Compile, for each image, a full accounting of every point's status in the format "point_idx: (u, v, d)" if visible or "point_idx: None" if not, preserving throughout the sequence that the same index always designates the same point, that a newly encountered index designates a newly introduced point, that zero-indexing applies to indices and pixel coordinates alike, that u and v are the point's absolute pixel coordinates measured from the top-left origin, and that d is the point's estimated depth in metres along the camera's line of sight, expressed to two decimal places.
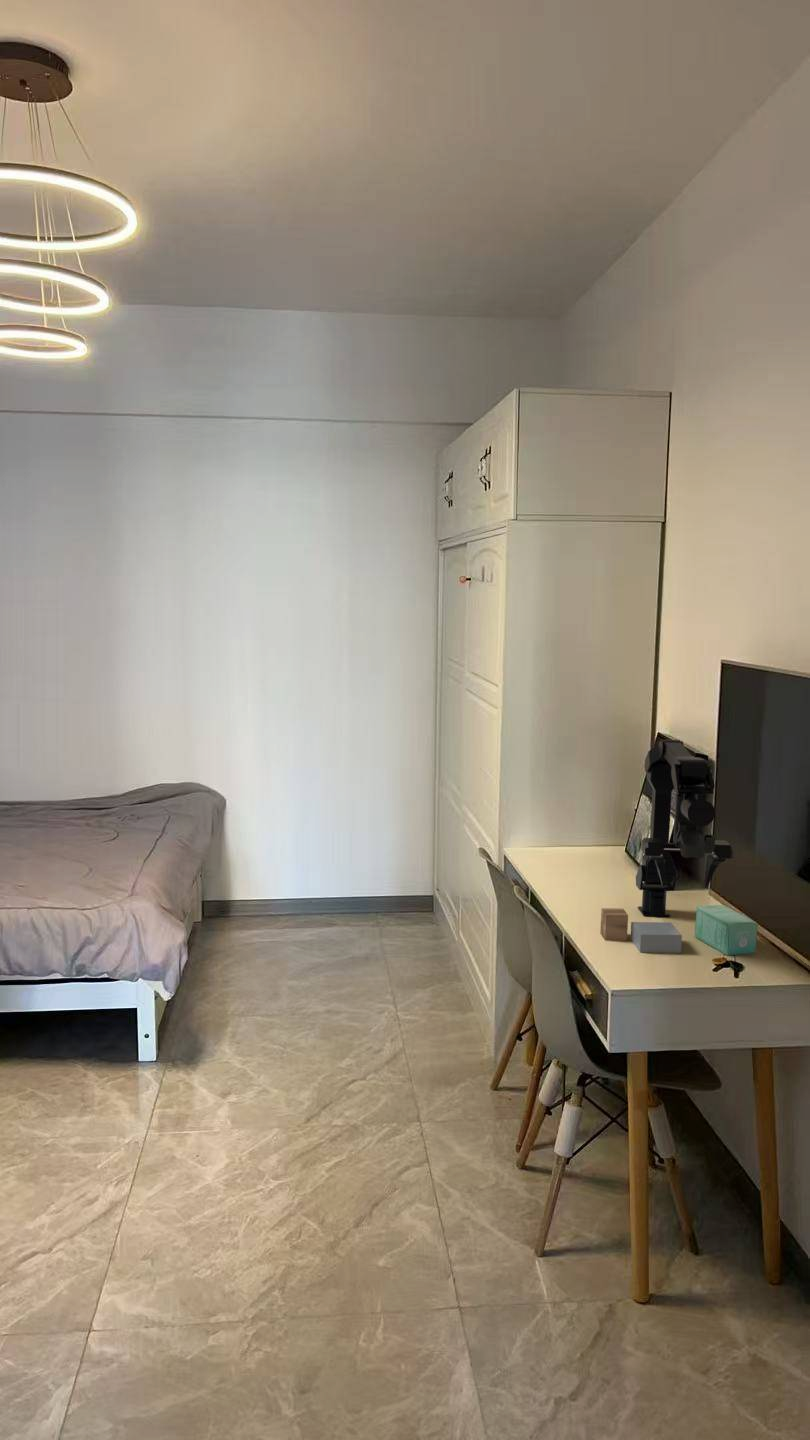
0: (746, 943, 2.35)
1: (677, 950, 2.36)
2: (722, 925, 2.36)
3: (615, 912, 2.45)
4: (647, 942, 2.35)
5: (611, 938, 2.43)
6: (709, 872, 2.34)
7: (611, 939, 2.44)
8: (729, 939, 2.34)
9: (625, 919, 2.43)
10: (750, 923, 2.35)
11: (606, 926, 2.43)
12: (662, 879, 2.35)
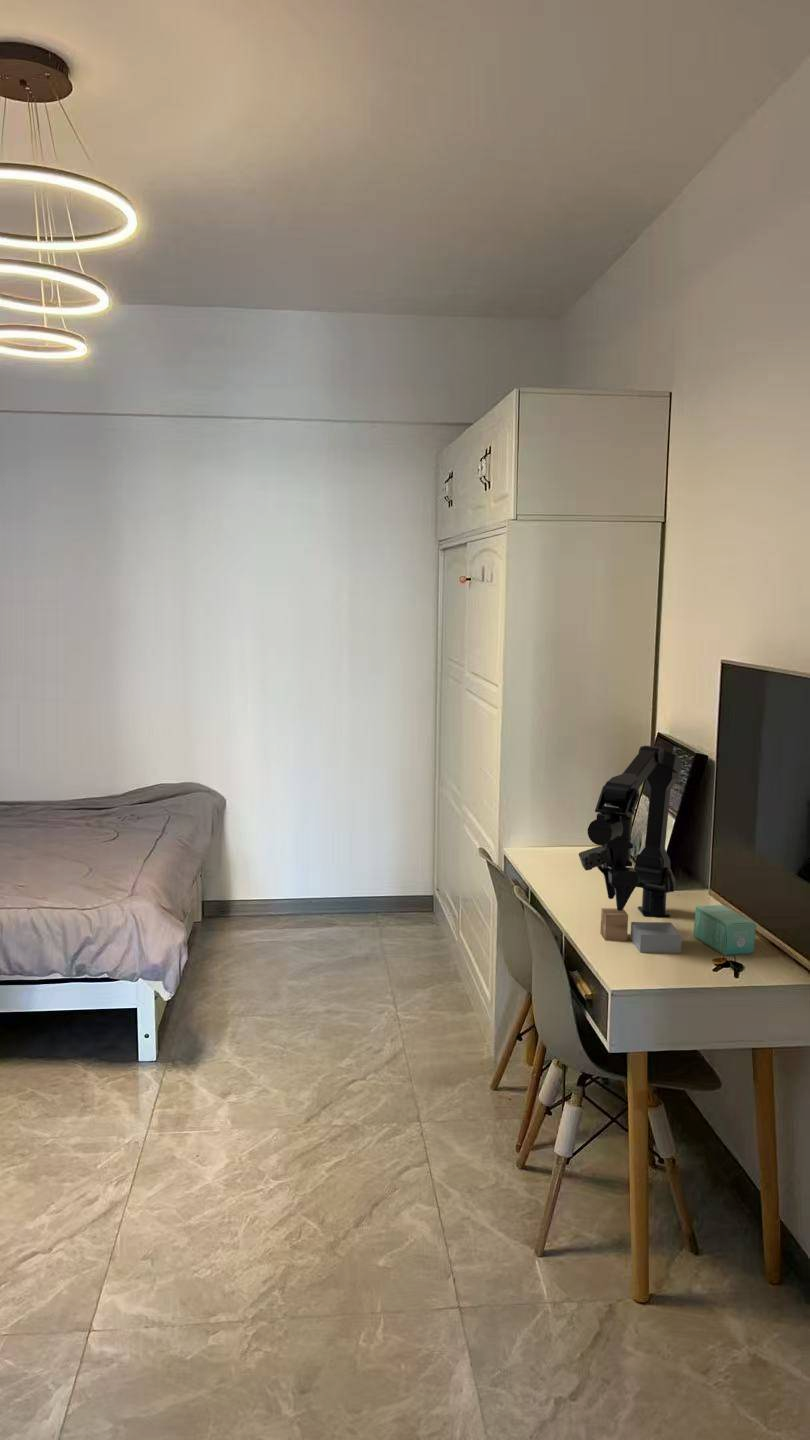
0: (744, 943, 2.35)
1: (677, 950, 2.36)
2: (720, 925, 2.36)
3: (615, 912, 2.45)
4: (647, 942, 2.35)
5: (611, 938, 2.43)
6: (615, 894, 2.40)
7: (611, 939, 2.44)
8: (727, 939, 2.34)
9: (625, 919, 2.43)
10: (748, 923, 2.35)
11: (606, 926, 2.43)
12: (607, 891, 2.50)
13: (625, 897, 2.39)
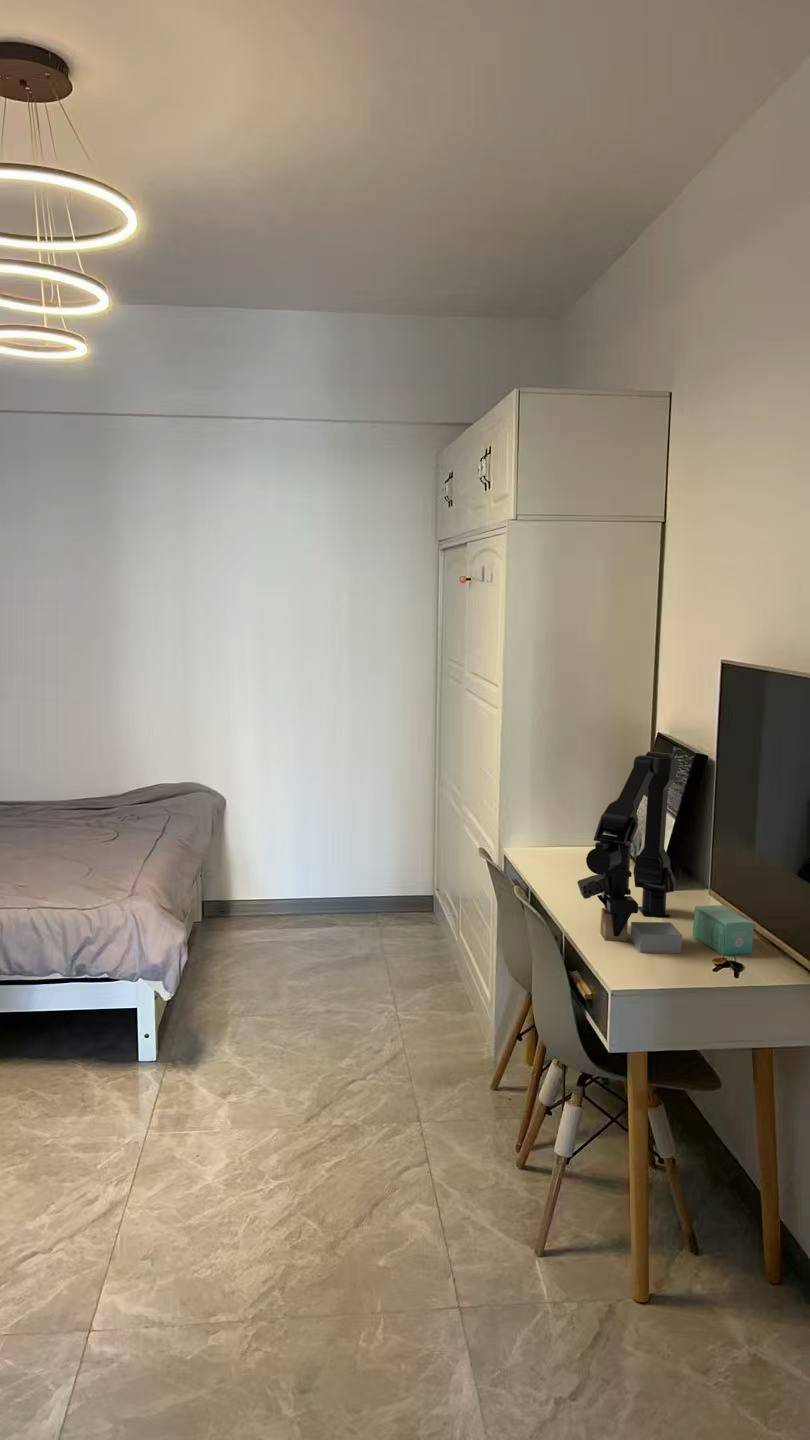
0: (742, 943, 2.35)
1: (677, 950, 2.36)
2: (719, 925, 2.36)
3: None
4: (647, 942, 2.35)
5: (611, 938, 2.43)
6: (612, 920, 2.42)
7: (611, 939, 2.44)
8: (725, 939, 2.34)
9: None
10: (746, 923, 2.35)
11: (606, 926, 2.43)
12: None
13: (622, 923, 2.42)
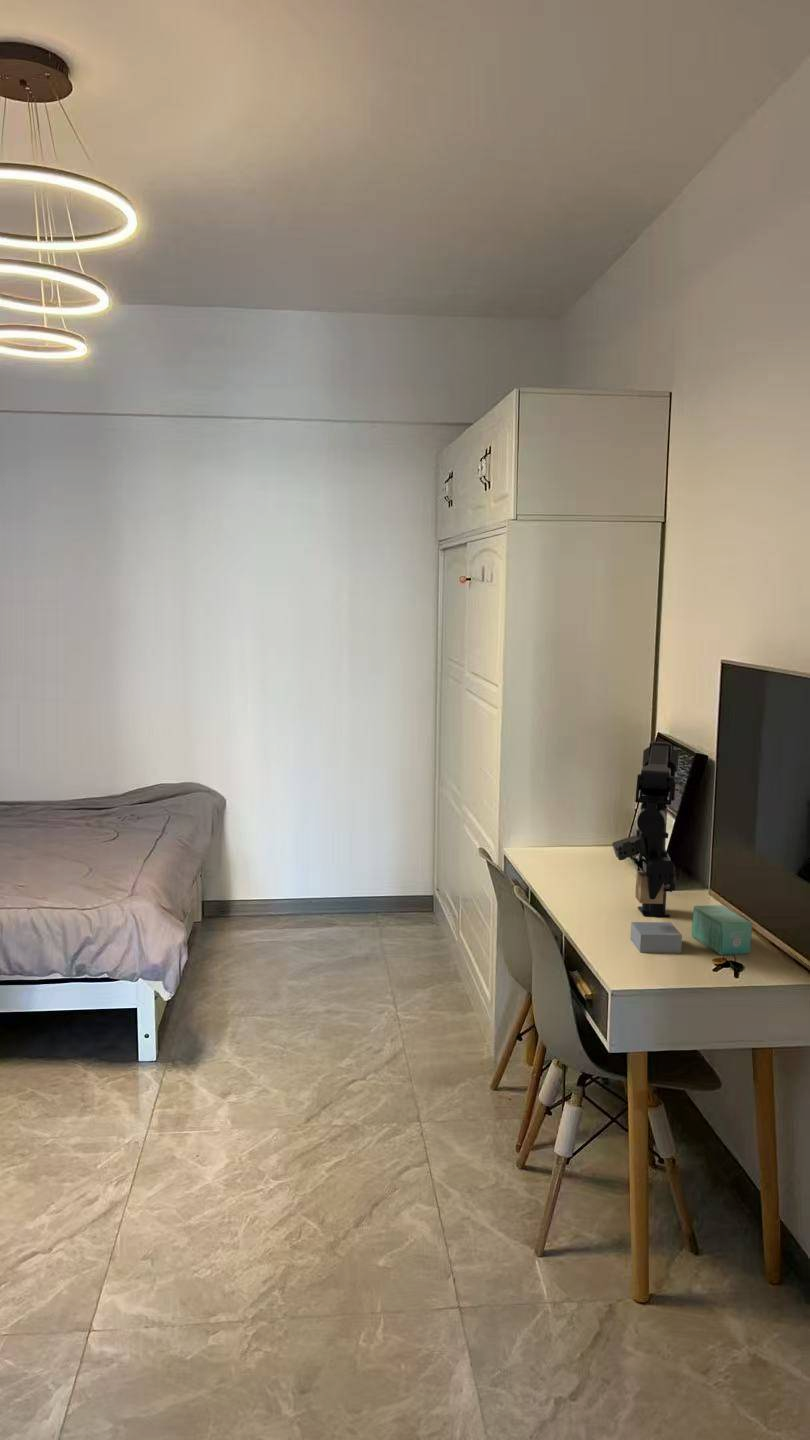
0: (740, 943, 2.35)
1: (677, 950, 2.36)
2: (716, 925, 2.36)
3: None
4: (647, 942, 2.35)
5: (646, 901, 2.37)
6: None
7: (646, 902, 2.37)
8: (722, 939, 2.34)
9: None
10: (744, 923, 2.35)
11: (641, 888, 2.37)
12: None
13: (658, 885, 2.36)
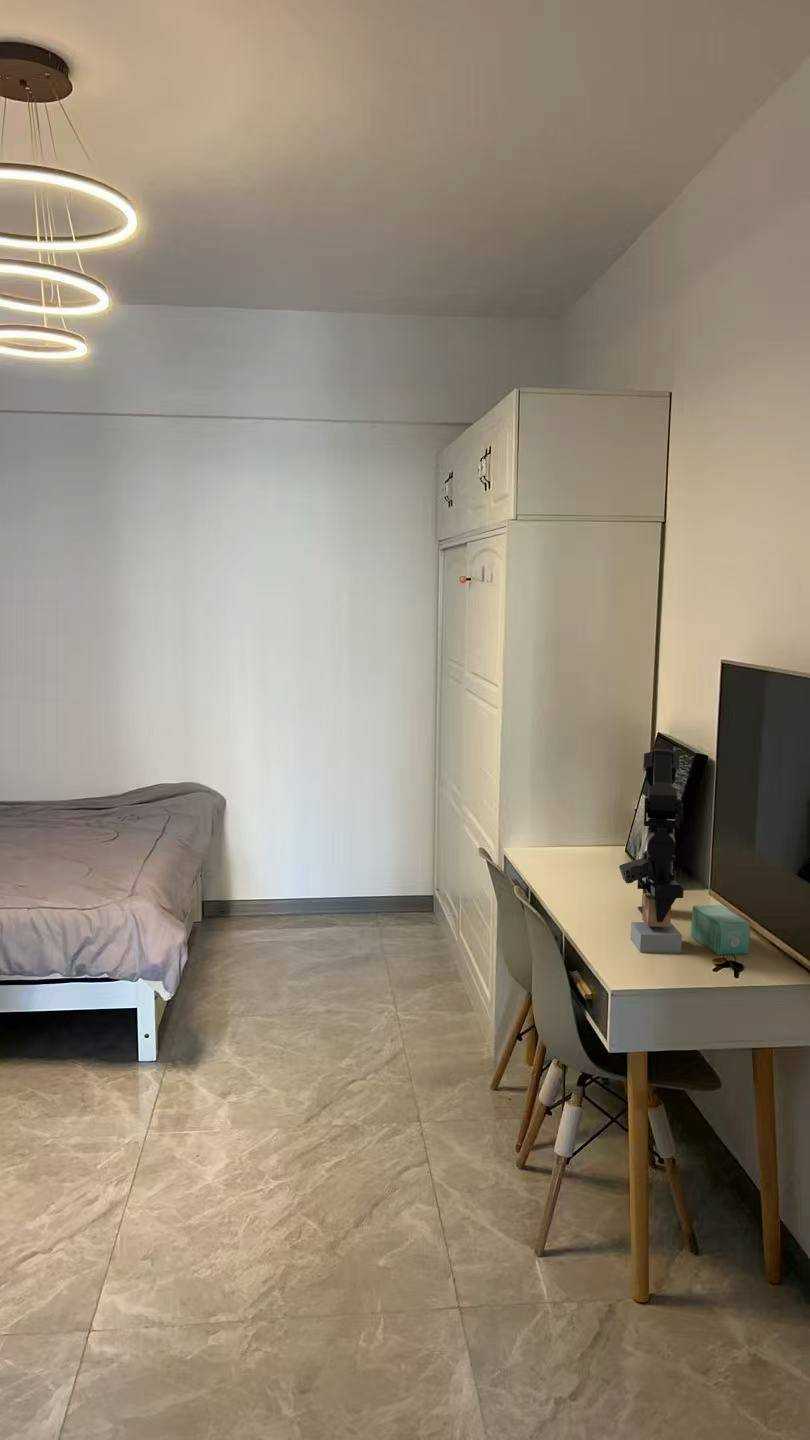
0: (738, 943, 2.35)
1: (677, 950, 2.36)
2: (715, 925, 2.36)
3: None
4: (647, 942, 2.35)
5: (654, 924, 2.37)
6: (655, 906, 2.36)
7: (654, 925, 2.37)
8: (720, 938, 2.34)
9: None
10: (742, 923, 2.35)
11: (649, 911, 2.37)
12: None
13: (666, 908, 2.35)
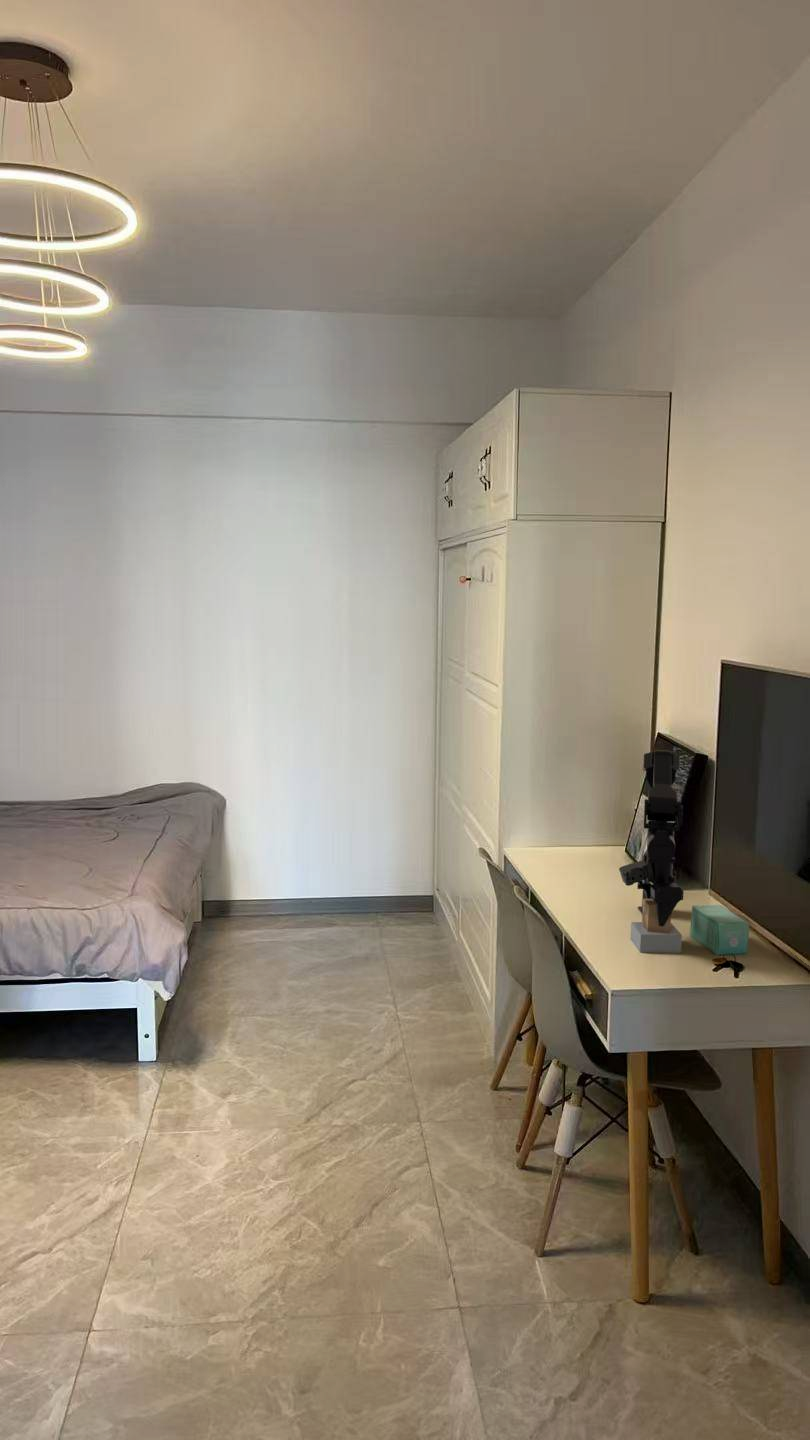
0: (737, 943, 2.35)
1: (677, 950, 2.36)
2: (713, 925, 2.36)
3: None
4: (647, 942, 2.35)
5: (654, 929, 2.37)
6: (657, 910, 2.35)
7: (654, 930, 2.37)
8: (719, 938, 2.34)
9: None
10: (741, 923, 2.35)
11: (649, 917, 2.37)
12: None
13: (667, 912, 2.34)
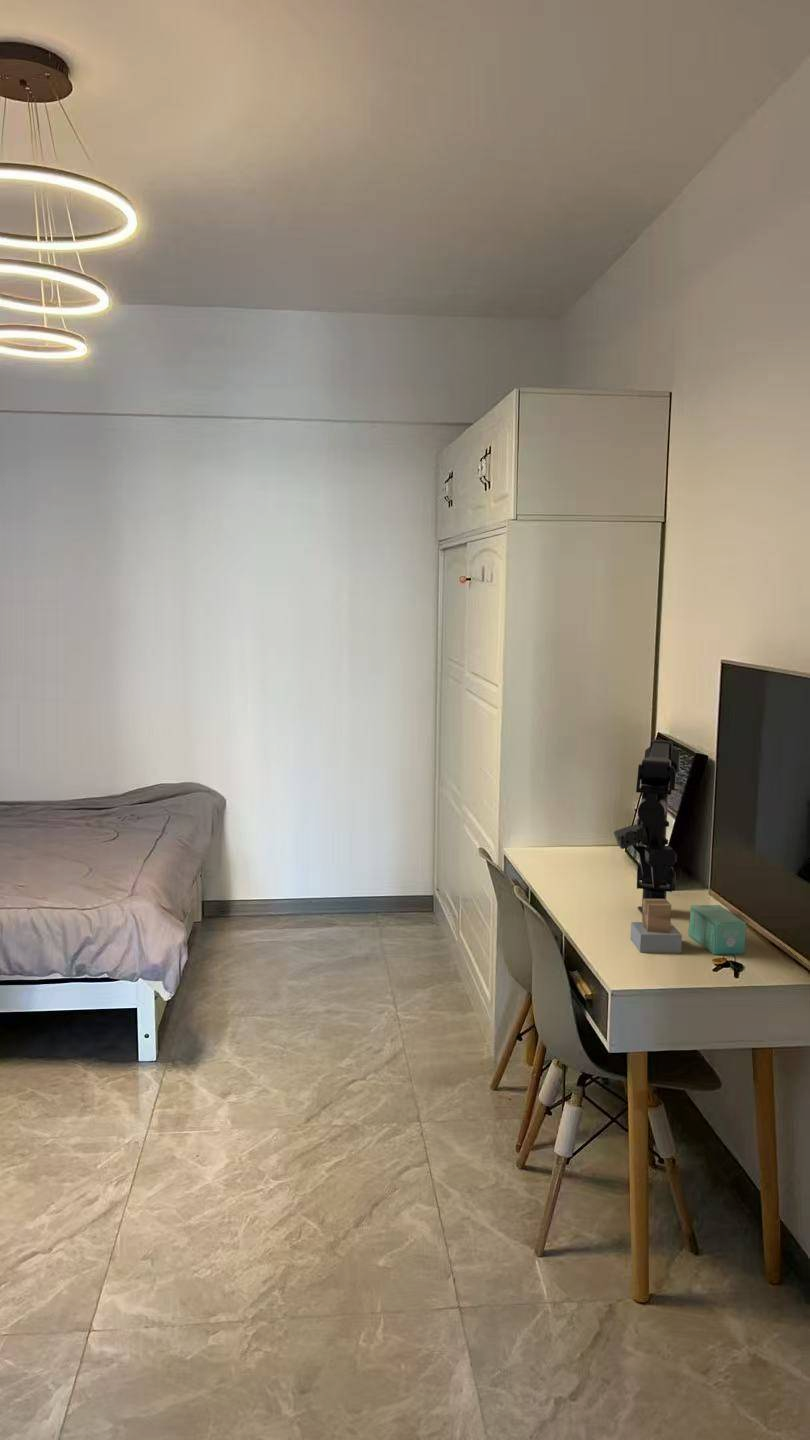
0: (734, 943, 2.35)
1: (677, 950, 2.36)
2: (710, 924, 2.36)
3: (658, 902, 2.39)
4: (647, 942, 2.35)
5: (654, 929, 2.37)
6: (651, 873, 2.40)
7: (654, 930, 2.37)
8: (716, 938, 2.34)
9: (669, 910, 2.37)
10: (738, 923, 2.35)
11: (649, 917, 2.37)
12: (641, 869, 2.50)
13: (662, 875, 2.40)
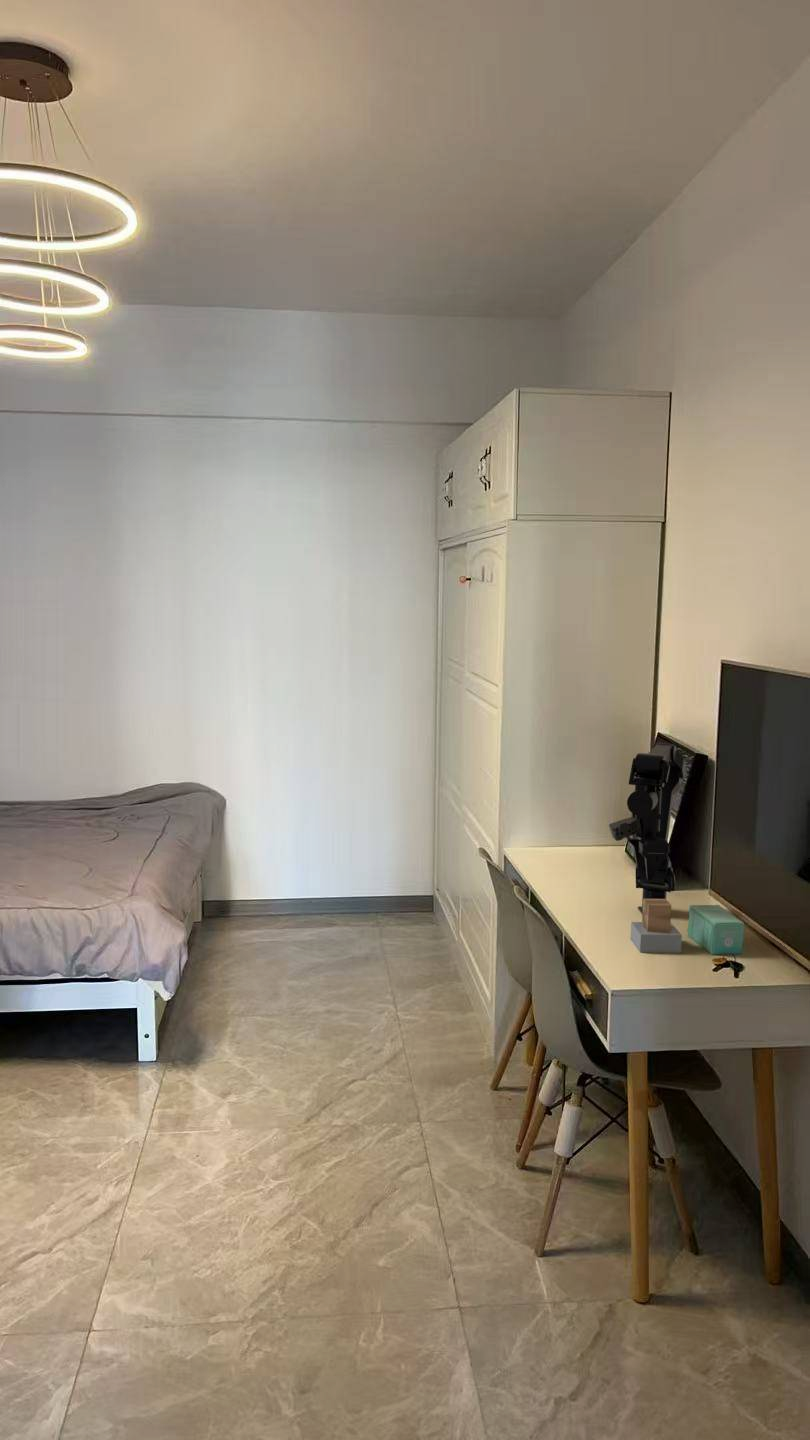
0: (732, 943, 2.35)
1: (677, 950, 2.36)
2: (708, 924, 2.37)
3: (658, 902, 2.39)
4: (647, 942, 2.35)
5: (654, 929, 2.37)
6: (645, 864, 2.45)
7: (654, 930, 2.37)
8: (713, 938, 2.34)
9: (669, 910, 2.37)
10: (736, 923, 2.35)
11: (649, 917, 2.37)
12: (636, 862, 2.55)
13: (655, 866, 2.45)
